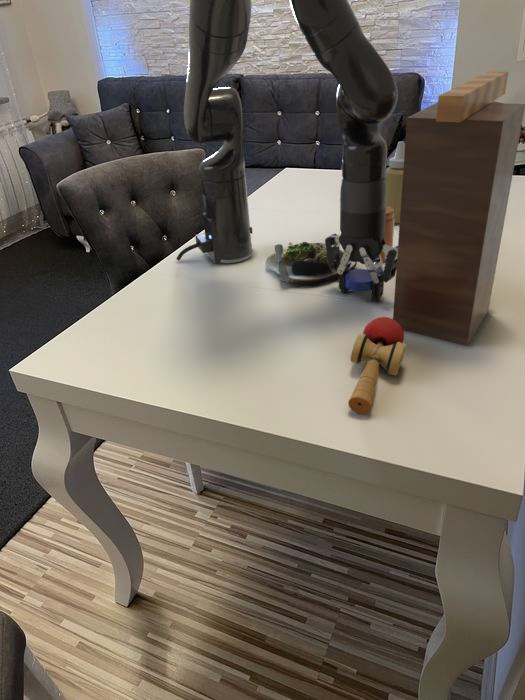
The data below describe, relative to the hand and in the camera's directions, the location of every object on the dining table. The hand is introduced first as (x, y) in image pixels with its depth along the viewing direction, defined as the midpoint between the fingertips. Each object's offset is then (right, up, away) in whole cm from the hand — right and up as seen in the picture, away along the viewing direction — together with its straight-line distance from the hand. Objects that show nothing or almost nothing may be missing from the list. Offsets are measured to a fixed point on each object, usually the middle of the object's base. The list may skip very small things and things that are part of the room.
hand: (360, 295), depth 97 cm
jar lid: (0, +3, -2) cm, 3 cm away
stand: (+12, -5, -9) cm, 16 cm away
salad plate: (-8, +6, +11) cm, 15 cm away
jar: (+7, +9, +14) cm, 18 cm away
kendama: (-2, -14, -21) cm, 25 cm away
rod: (+11, +23, -24) cm, 35 cm away
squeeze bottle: (+14, +21, +31) cm, 41 cm away
